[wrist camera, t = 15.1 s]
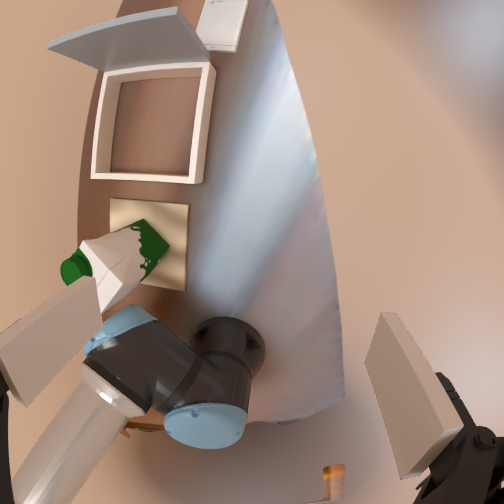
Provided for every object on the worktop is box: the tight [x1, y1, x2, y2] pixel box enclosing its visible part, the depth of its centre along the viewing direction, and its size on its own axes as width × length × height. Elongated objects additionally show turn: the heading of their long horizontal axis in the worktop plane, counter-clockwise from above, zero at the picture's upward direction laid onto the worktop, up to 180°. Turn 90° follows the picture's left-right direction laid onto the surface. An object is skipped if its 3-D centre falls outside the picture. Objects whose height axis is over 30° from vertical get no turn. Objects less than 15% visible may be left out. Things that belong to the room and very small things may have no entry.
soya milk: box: [60, 219, 170, 314], centre depth 39 cm, size 9×9×20 cm
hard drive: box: [196, 0, 249, 53], centre depth 37 cm, size 2×8×12 cm
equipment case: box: [47, 7, 217, 184], centre depth 32 cm, size 27×20×21 cm
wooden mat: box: [110, 198, 190, 291], centre depth 49 cm, size 16×16×1 cm
